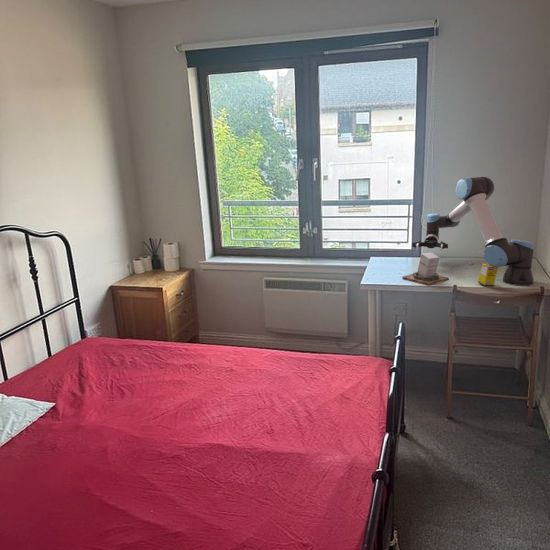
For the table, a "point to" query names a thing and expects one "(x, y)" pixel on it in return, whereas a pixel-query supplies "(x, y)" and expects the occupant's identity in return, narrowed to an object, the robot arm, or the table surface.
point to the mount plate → (427, 282)
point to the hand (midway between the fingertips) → (429, 248)
